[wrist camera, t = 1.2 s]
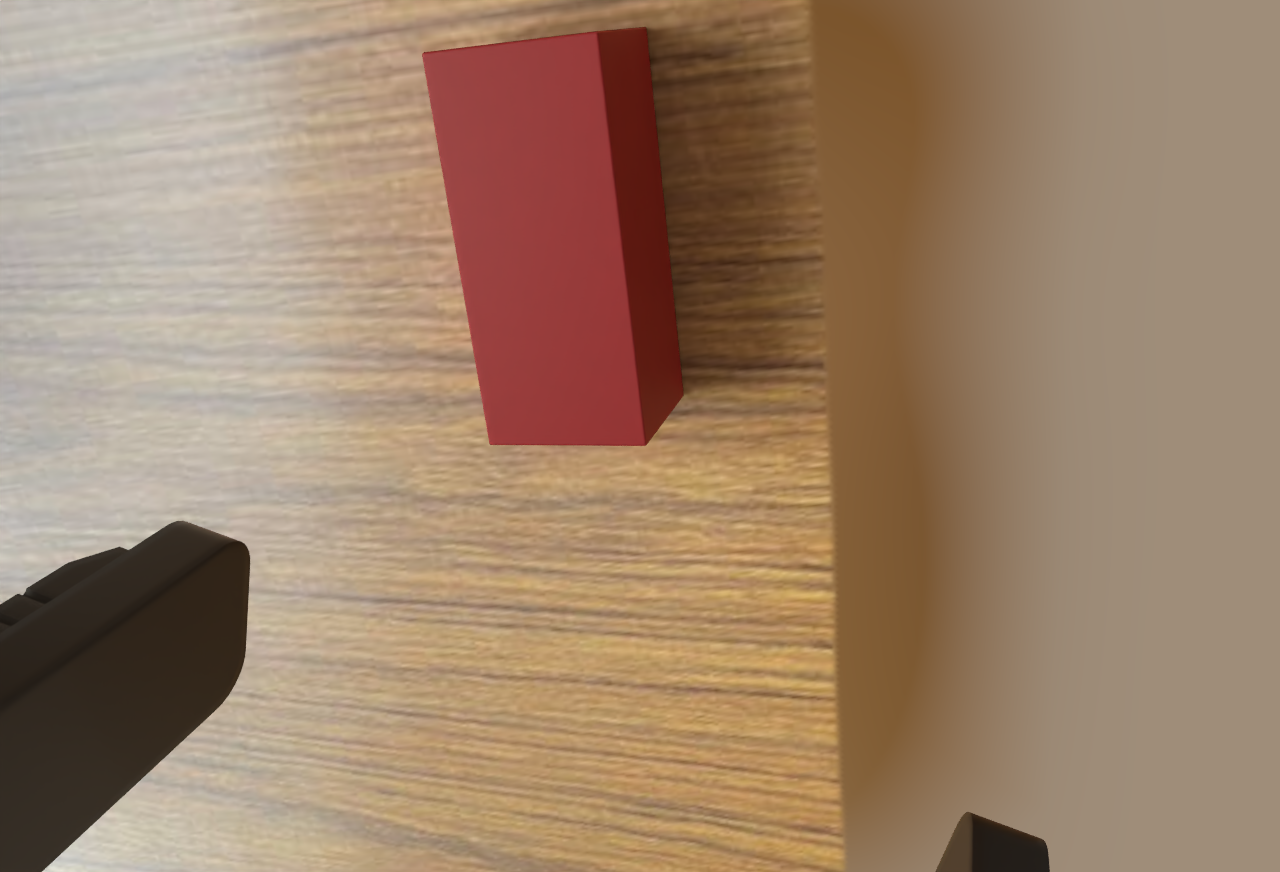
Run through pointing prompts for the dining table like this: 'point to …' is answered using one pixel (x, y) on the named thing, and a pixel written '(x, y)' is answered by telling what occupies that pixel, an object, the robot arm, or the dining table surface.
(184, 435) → the dining table surface
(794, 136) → the dining table surface
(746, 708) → the dining table surface
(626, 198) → the red rectangular block
